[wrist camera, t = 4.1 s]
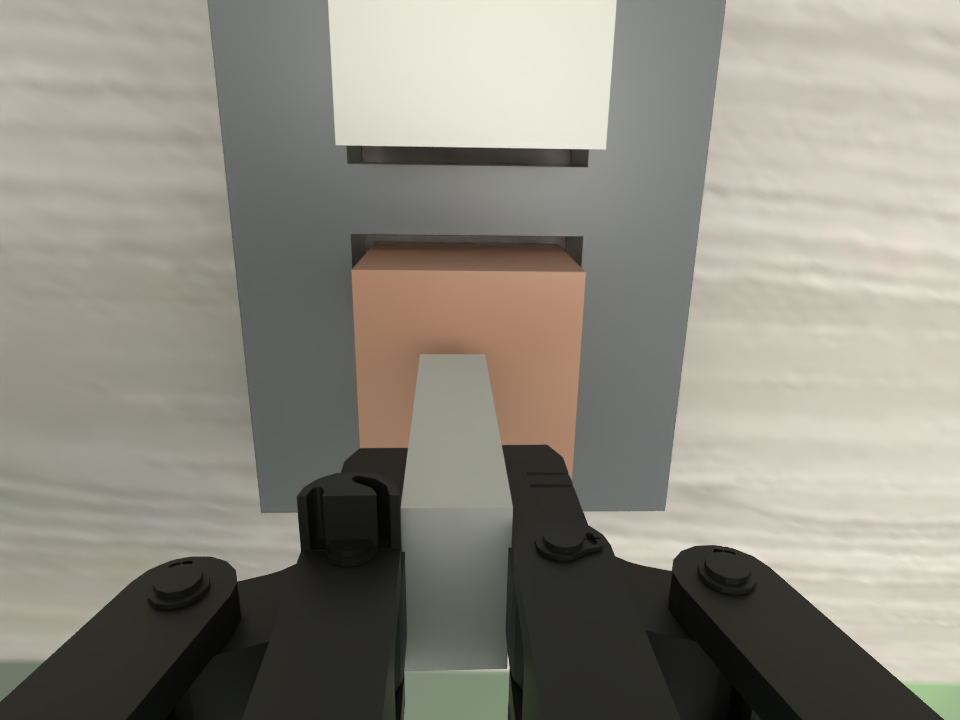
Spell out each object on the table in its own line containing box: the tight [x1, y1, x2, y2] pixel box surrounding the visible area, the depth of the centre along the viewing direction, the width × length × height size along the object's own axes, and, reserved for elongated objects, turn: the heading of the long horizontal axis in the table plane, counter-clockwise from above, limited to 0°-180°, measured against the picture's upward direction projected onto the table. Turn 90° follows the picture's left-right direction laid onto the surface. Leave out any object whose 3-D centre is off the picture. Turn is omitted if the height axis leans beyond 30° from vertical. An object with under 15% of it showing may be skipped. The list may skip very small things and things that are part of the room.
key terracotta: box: [351, 242, 586, 480], centre depth 20 cm, size 6×6×5 cm
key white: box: [328, 0, 617, 150], centre depth 16 cm, size 6×6×5 cm
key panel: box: [208, 0, 726, 513], centre depth 19 cm, size 14×30×3 cm, turn 179°
